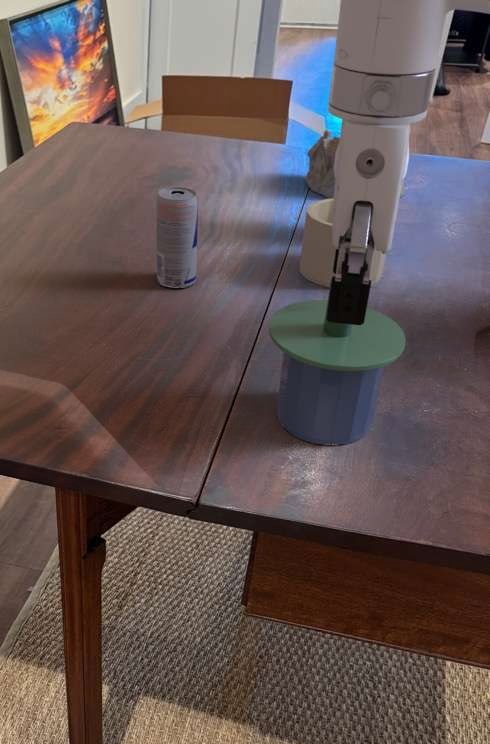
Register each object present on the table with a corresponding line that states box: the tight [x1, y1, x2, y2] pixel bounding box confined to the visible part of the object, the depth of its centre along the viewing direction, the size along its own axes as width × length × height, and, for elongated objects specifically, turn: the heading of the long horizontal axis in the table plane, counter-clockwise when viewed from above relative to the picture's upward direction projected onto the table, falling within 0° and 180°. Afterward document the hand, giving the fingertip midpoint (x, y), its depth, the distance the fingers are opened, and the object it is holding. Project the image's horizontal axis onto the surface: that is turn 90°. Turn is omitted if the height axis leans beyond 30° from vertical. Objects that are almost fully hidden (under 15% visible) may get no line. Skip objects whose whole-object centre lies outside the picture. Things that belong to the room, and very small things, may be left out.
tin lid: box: [268, 279, 407, 371], centre depth 66 cm, size 13×13×6 cm
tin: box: [299, 198, 388, 289], centre depth 99 cm, size 12×12×8 cm
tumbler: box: [276, 352, 385, 446], centre depth 70 cm, size 10×10×9 cm
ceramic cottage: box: [304, 129, 405, 199], centre depth 126 cm, size 16×16×15 cm
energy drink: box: [155, 186, 199, 288], centre depth 94 cm, size 5×5×12 cm
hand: (347, 296), depth 65 cm, fingers open, 9 cm apart
